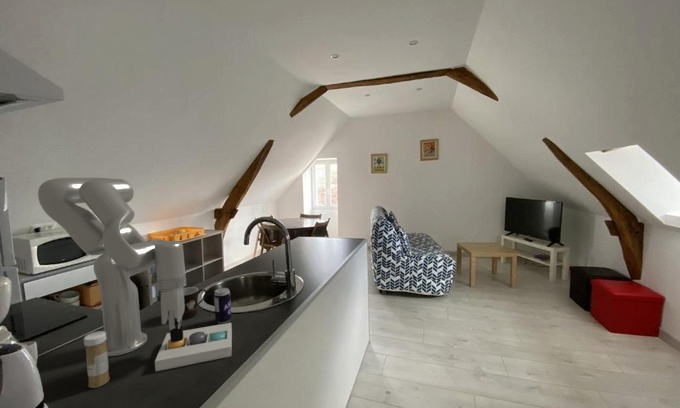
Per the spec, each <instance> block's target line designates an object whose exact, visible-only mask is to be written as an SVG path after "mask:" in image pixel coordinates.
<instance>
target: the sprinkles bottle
mask: <svg viewBox="0 0 680 408" xmlns="http://www.w3.org/2000/svg"><path fill="white" fill-rule="evenodd" d="M106 339H107V338H106V332H104V330H99V331H94V332H90V333H89V334H87V335H85V336H84V338H83V345H84V347H85V354H86V357H85V360H86V369H87V372H86V373H87V377H88V384H87V385H88V388H90V389H97V388H100V387H101V386H104V385H106V384H107V383H109V381H110V379H111V377H110V372H109V356H108V354H107V346H106Z"/></svg>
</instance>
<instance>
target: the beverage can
mask: <svg viewBox="0 0 680 408" xmlns="http://www.w3.org/2000/svg"><path fill="white" fill-rule="evenodd" d="M213 301H214V302H213V303H214V305H213V306H214V318H215V319H214V320H215V322H216V323H218V324H219V325H221V324H226V323H229V322H230V320H231V319H232V302H231V292H230V289H229V288H228V287H220V288H217V289H215V290H214V294H213Z"/></svg>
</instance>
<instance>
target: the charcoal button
mask: <svg viewBox="0 0 680 408" xmlns="http://www.w3.org/2000/svg"><path fill="white" fill-rule="evenodd" d="M189 338H190V346H191V345H196V344H202V343H205V333H204V332H196V333H193V334H191V335H190V337H189Z"/></svg>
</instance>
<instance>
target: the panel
mask: <svg viewBox="0 0 680 408" xmlns="http://www.w3.org/2000/svg"><path fill="white" fill-rule="evenodd" d="M232 328H233V327H232V322H227V323H223V324H216V325H210V326H204V327H198V328H192V329H186V330H185V329H184V330H183V337H184V347H180V348H175V349H169V350H168V340H169V339H171V337H170V332H167V333H166V335H165V337H164V339H163V341H162V344H161V347H160V349H159V351H158V353H157V356H156V358H155V360H154V369H155V372H159V371H161V372H162V371H164V370H170V369H175V368H180V367H185V366H191V365H195V364H199V363H203V362H204V363H205V362H209V361H215V360H219V359H224V358H229V357H232V350H233V349H232V346H233V345H232V344H233V343H232V342H233V341H232V340H233V337H232V335H233V329H232ZM196 332H204V333H205V343H202V344H196V345H191V346H190V338H189V337H190V335H191V334H193V333H196ZM215 332H225V339H223V340H218V341H212V342H211V337H210V336H211V335H212V334H213V333H215Z"/></svg>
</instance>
